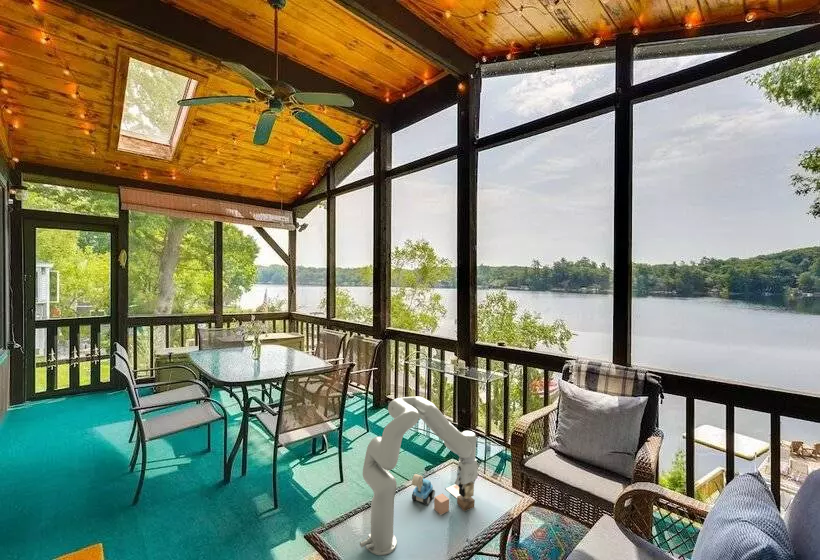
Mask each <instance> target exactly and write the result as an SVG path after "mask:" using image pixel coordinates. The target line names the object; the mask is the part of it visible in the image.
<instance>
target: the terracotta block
mask: <svg viewBox="0 0 820 560" xmlns="http://www.w3.org/2000/svg"><path fill="white" fill-rule="evenodd" d="M433 501H434V502H433V509H434V510H435V511H436V512H437V513H438V514H439V515H443V514H445V513H447V512H449V511H450V498H448V496H447V495H445V494H444V493H440V494H438V495H436V496H434V498H433Z"/></svg>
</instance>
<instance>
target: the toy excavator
mask: <svg viewBox="0 0 820 560" xmlns="http://www.w3.org/2000/svg"><path fill="white" fill-rule="evenodd" d="M411 485H412V486H414V487H415V488H414V489H413V491H412V494H411V500H413V501H415V502H416V501H418V502H420V503H423V504H424V505H427V506H428V505H429V504H430V501H431V500H433V499H434V498H435V494H436V491H435V489H434V488H433V487H434V486H433V484H432V482H431V481H430V480H429V479H426V478H423V476H422V475H420V474H417V473H414V475H413V477H412V480H411Z"/></svg>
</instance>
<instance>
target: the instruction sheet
mask: <svg viewBox="0 0 820 560" xmlns="http://www.w3.org/2000/svg"><path fill="white" fill-rule="evenodd" d="M445 490H446V491H447V492H449V493H450V495H452V496H453V497H455V499H457V496H460V494H459V486H457V485H456V484H455V483H454V484H452V485H450V486H448V487H446V488H445Z"/></svg>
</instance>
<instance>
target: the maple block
mask: <svg viewBox="0 0 820 560" xmlns="http://www.w3.org/2000/svg"><path fill="white" fill-rule="evenodd" d="M461 485H462V483H461ZM464 489H465V496H464V498H465V499H467V498H469V497H473V496H474V491H475V483H472V482H469V483H467V484H465V486H464Z"/></svg>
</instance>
